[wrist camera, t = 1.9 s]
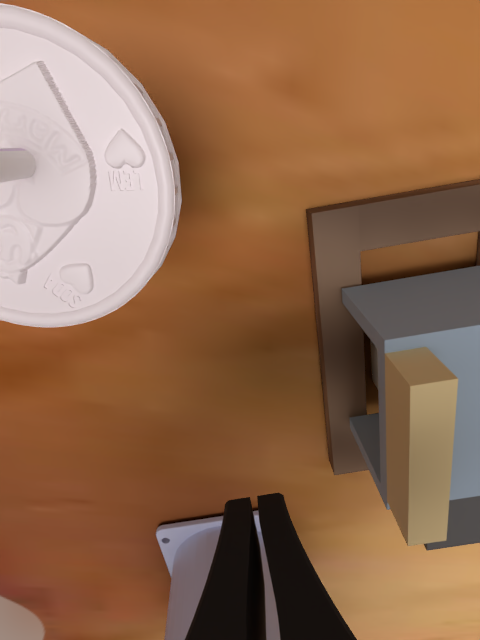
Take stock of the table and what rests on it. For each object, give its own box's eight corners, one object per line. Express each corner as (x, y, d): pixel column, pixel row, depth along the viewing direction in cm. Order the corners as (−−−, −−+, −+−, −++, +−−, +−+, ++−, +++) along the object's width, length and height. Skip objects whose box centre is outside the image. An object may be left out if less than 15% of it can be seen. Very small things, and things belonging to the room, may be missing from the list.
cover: (500, 404, 21) (627, 522, 14) (350, 428, 21) (407, 555, 15) (519, 259, 18) (692, 326, 11) (341, 288, 18) (410, 371, 11)
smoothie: (221, 118, 16) (221, 25, 4) (175, 260, 19) (73, 512, 6) (64, 51, 15) (-768, -441, 2) (35, 211, 18) (-466, 391, 5)
